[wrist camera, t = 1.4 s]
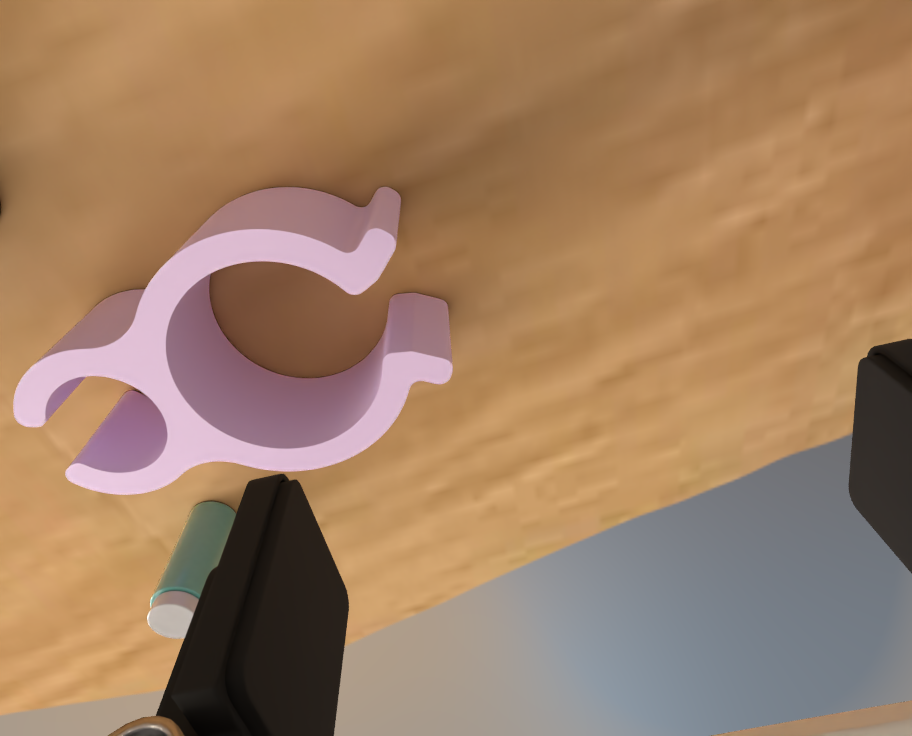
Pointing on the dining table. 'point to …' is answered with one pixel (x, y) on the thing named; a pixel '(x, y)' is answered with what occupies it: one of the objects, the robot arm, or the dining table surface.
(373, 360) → the clip
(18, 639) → the dining table surface
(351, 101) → the dining table surface
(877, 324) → the dining table surface
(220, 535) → the green cylinder
